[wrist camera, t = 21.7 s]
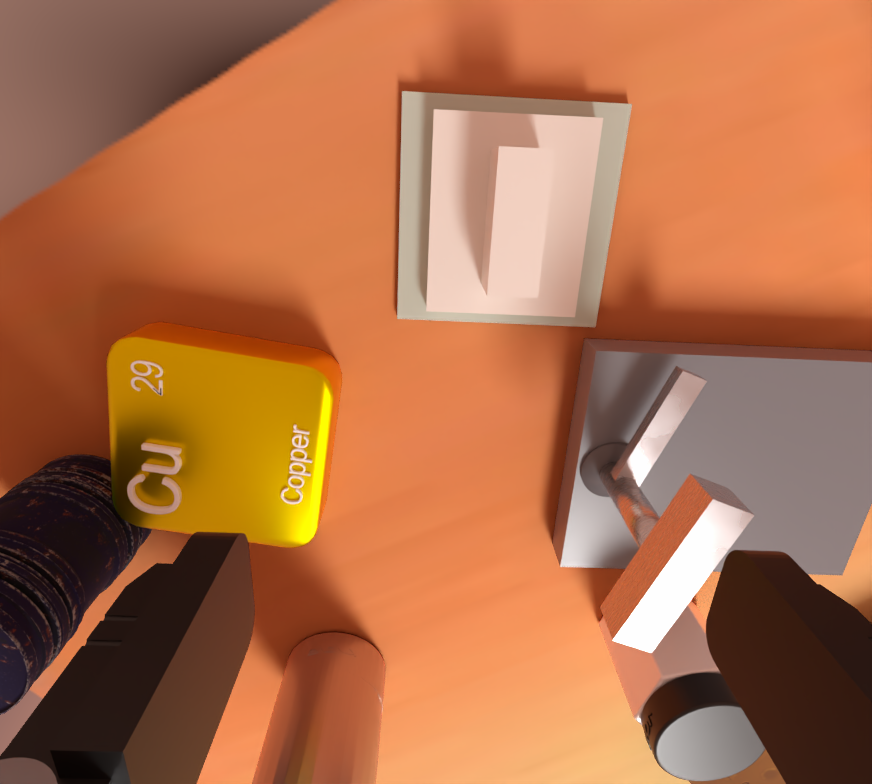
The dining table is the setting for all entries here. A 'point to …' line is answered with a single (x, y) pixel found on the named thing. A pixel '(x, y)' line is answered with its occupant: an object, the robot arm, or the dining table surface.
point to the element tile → (221, 433)
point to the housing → (726, 446)
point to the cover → (509, 211)
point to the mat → (418, 193)
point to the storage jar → (55, 563)
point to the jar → (685, 703)
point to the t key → (665, 526)
